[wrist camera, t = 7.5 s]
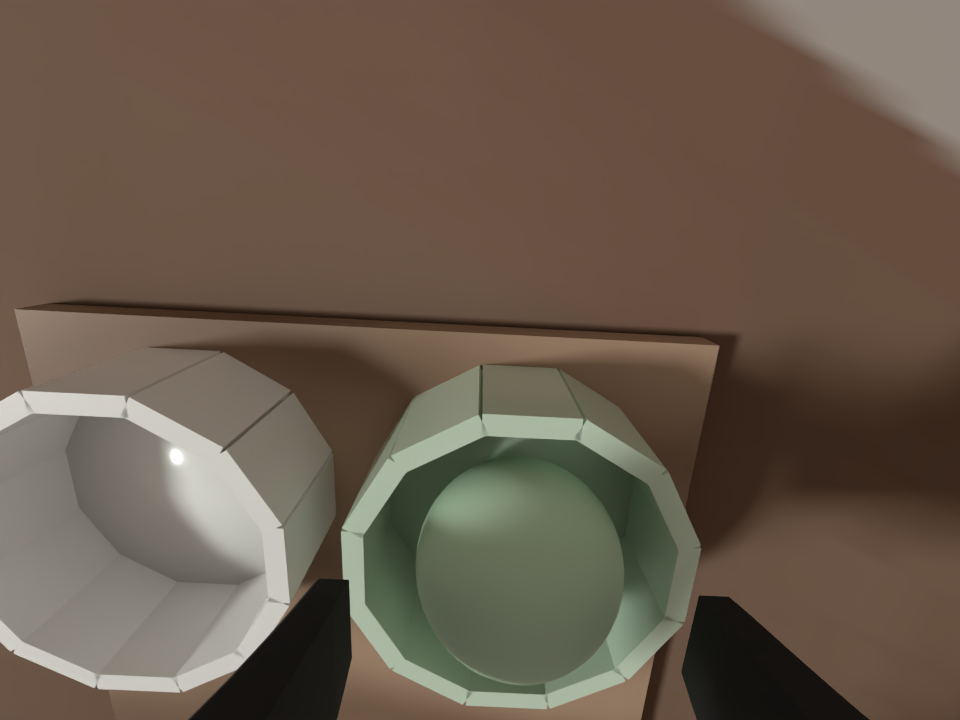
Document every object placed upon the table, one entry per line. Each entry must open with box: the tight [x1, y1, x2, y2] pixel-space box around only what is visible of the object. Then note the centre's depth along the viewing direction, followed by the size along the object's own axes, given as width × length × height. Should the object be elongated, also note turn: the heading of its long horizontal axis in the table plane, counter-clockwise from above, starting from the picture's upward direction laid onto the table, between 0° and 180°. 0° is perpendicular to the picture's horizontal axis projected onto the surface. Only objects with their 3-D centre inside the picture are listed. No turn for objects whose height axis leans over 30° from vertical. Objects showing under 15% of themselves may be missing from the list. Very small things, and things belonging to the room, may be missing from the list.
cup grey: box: [0, 347, 336, 693], centre depth 12 cm, size 8×8×4 cm
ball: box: [415, 456, 624, 685], centre depth 11 cm, size 5×5×5 cm
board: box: [14, 303, 719, 720], centre depth 15 cm, size 18×20×1 cm
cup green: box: [341, 365, 701, 709], centre depth 12 cm, size 8×8×4 cm
